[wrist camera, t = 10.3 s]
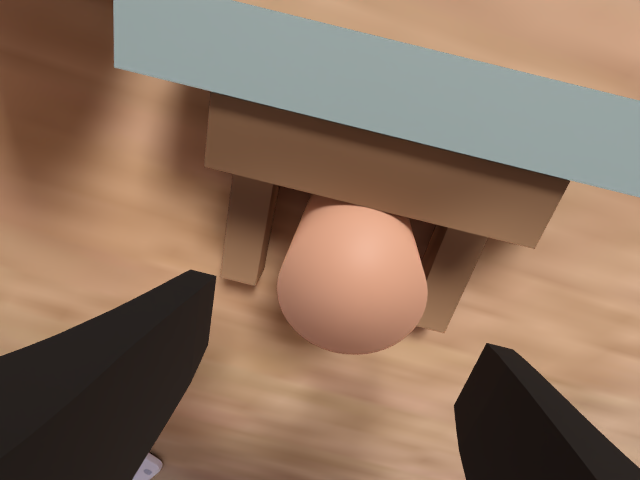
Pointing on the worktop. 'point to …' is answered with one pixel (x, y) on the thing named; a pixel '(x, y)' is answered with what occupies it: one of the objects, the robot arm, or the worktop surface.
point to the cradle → (371, 191)
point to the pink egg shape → (352, 278)
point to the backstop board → (384, 87)
